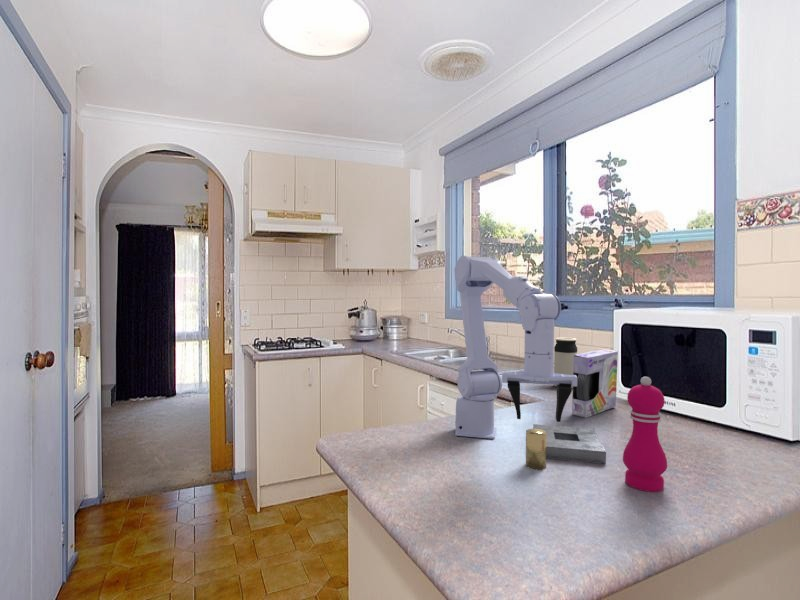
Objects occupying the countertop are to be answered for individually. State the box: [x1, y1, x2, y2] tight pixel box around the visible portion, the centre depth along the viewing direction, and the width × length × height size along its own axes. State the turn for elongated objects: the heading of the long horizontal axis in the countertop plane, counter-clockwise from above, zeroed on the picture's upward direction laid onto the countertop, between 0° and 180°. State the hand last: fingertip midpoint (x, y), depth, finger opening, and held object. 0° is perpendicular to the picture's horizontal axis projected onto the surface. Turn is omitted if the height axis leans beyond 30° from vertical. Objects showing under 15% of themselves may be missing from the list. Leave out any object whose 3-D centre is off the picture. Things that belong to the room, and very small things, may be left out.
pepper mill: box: [622, 376, 668, 492], centre depth 84 cm, size 7×7×20 cm
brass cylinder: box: [525, 428, 547, 471], centre depth 93 cm, size 4×4×7 cm
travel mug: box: [553, 336, 578, 390], centre depth 168 cm, size 8×8×18 cm
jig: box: [532, 423, 607, 465], centre depth 103 cm, size 14×16×2 cm
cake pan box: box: [571, 348, 619, 419], centre depth 134 cm, size 19×5×18 cm, turn 129°
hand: (538, 419), depth 93 cm, fingers open, 7 cm apart
